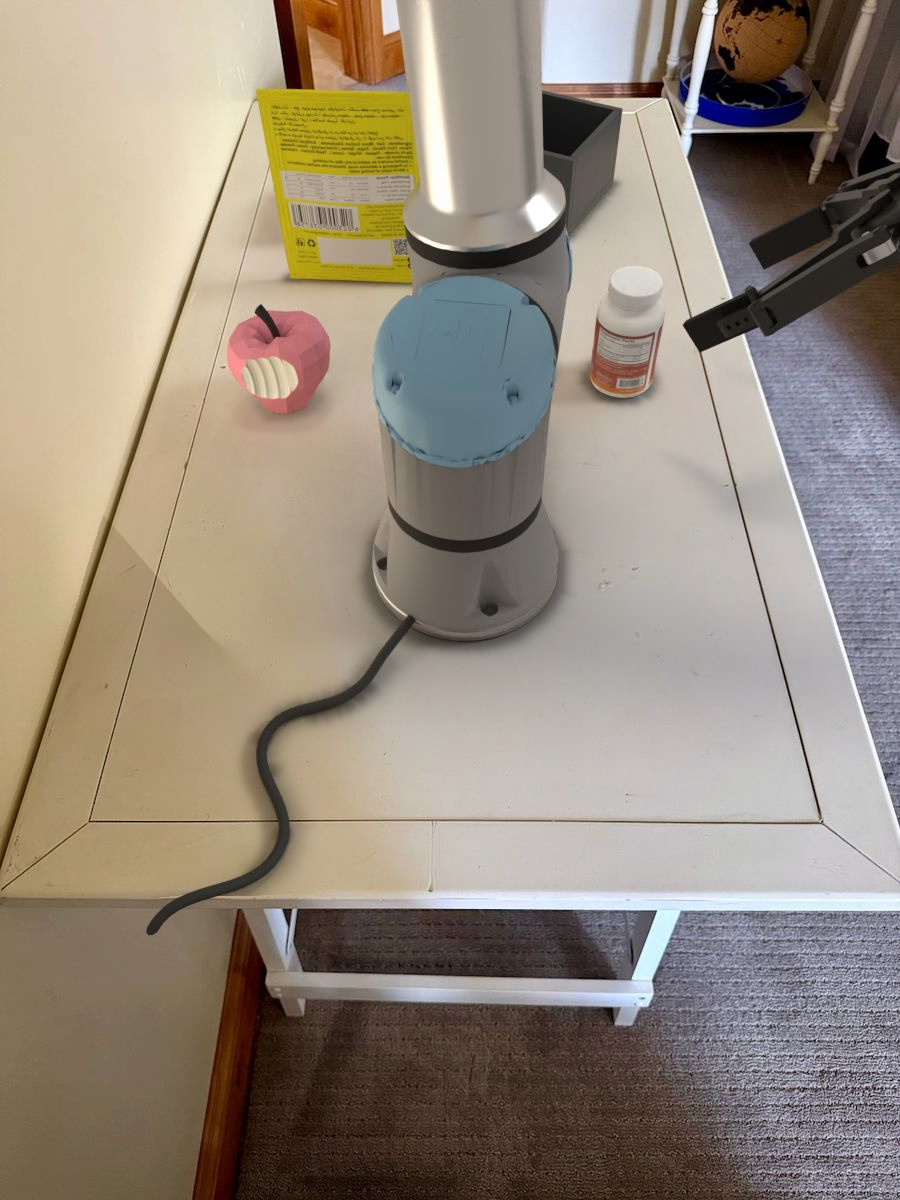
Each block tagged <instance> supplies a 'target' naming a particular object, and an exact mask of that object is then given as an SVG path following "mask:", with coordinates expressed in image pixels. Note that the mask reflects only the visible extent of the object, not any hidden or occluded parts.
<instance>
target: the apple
mask: <svg viewBox="0 0 900 1200" xmlns="http://www.w3.org/2000/svg"><path fill="white" fill-rule="evenodd" d="M254 314H255V315H253V316H252V317H250V318H248V319H246V320H243V321H242V322H240V323H238V324H237V325H236V327H235V328H234V330H233V332H232V334H231V335H230V336H229V339H228V343H227V349H226V360H227V365H228V368H229V370H230V373H231V374H232V376H233V377H234V379H235V380H236V381H237V382H238V383H239V384H240V386H241V387H242V388H244V389H245V390H246V391H248V392H249V393H250V394H251V395H252V396H253V397H254V398H255V399H256V400H257V401H258V402H260V403H261V404H262V405H264V407H265V408H266V409H267V410H268V411H269V412H270V413H276V414H283V415H285V414H286V415H288V414H291V413H292V412H294V411H297V410H299V409H305V408H306V407H307V405H308V404H309V403H310V401H311V399H312V398H313V396H314V394H315V392H316V391H317V388H318V387H319V386H320V385H321V384H322V381H323V380H324V379H325V377H326V375H327V373H328V371H329V368H330V360H331V339H330V336H329V333H327V331H326V330H325V328H324V326H323V324H322V323H321V322H320V321H319V319H318V318H317V317H316V316H314V315H312V314H310V313H308V312H306V311H303V310H290V311H281V310H272V309H270V310H268V309H266V308H265V306H264V305H263V304H262V303H260V304H258V306H256V308H255V310H254Z"/></svg>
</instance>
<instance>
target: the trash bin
mask: <svg viewBox="0 0 900 1200" xmlns="http://www.w3.org/2000/svg"><path fill="white" fill-rule="evenodd" d="M623 109H624V108H622V107H617V106H613V105H609V104H604V103H600V102H596V101H591V100H587V99H582V98H580V97H575V96H574V97H573V96H570V95H565V94H561V93H557V92H553V91H549V90H548V91H547V90H545V89H544V90H543V89H542V118H543V165H544V168H545V169H546V170H547V171H548V172H550V173H551V174H552V175H553V176H555V177H556V178H557V179H558V180H559V181H560V183H561V184H562V186H563V188H564V191H565V198H566V230H567V233H568V237H569V236H570V235H571V234H572V233H573V231H574V230H575V229H576V228H577V227H578V226H579V225H580V223H582V221H584V219H585V218H586V217H587V215H588V214H589V213H590V212H591V210H592V209H594V207H595V206H596V205H597V204H598V203H599V201H600V200H601V199H602V198H603V197H604V195H606V193H607V192H608V191H609V189H610V188H611V187H612V186H613V185H614V180H615V173H616V164H617V156H618V149H619V141H620V132H621V125H622V116H623Z"/></svg>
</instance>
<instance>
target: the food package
mask: <svg viewBox="0 0 900 1200" xmlns="http://www.w3.org/2000/svg"><path fill="white" fill-rule="evenodd" d="M255 92H256V98H257V104H258V110H259V115H260V120H261V125H262V133H263V137H264V142H265V143H264V144H265V147H266V153H267V154H266V155H267V159H268V165H269V169H270V170H269V171H270V175H271V181H272V186H273V190H274V191H273V192H274V196H275V203H276V207H277V213H278V218H279V224H280V229H281V234H282V241H283V246H284V251H285V257H286V262H287V268H288V273H289V278H290V279H295V280H296V279H297V280H325V281H326V280H327V281H352V282H353V281H354V282H373V283H374V282H375V283H377V282H378V283H398V284H399V283H401V284H412V273H411V266H410V259H409V252H408V245H407V238H406V232H405V225H404V219H403V206H404V203H405V201H406V199H407V197H408V195H409V194H410V193H411V191H412V190H413V189H414V188H415V187H416V186H417V184H418V183H419V182H420V178H419V171H418V163H417V156H416V148H415V140H414V133H413V125H412V118H411V110H410V103H409V95H408V91H383V90H381V91H380V90H346V89H345V90H344V89H343V90H342V89H341V90H340V89H339V90H338V89H300V88H299V89H297V88H255Z"/></svg>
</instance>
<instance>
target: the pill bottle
mask: <svg viewBox="0 0 900 1200" xmlns="http://www.w3.org/2000/svg"><path fill="white" fill-rule="evenodd" d="M607 288H608V289H607V293H606V294H604V295H603V296H602V298H601V300H599V302H598V307H597V310H596V318H595V324H594V325H595V326H594V335H593V341H592V348H591V349H592V350H591V357H590V365H589V379H590V382H591V383H592V385H593V387H594V388H595V389H596V390H597V391H599V392H600V393H602V394H604V395H607V396H609V397H612V398H620V399H628V398H633V397H638V396H639V395H641V394H643V393H644V392H646V391H647V390H648V389H649V388H650V386H651V384H652V382H653V379H654V376H655V375H654V374H655V370H656V365H657V360H658V359H657V358H658V353H659V348H660V343H661V339H662V338H661V337H662V333H663V328H664V322H665V317H666V309H665V305H664V302H663V301H662V299H661V296H662V290H663V279H662V276H661V275H660V274H659V273H658V272H657V271H655V270H654V269H651V268H649V267H647V266H642V265H627V266H623V267H620V268H618V269H616V270H615V271H613V273H612V274H611V275H610V277H609V281H608V287H607Z"/></svg>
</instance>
